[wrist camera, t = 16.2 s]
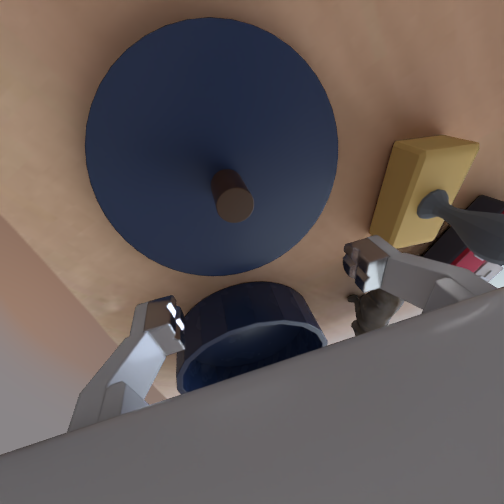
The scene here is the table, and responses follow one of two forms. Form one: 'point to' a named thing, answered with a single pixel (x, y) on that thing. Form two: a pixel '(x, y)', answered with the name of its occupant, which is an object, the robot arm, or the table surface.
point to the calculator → (458, 253)
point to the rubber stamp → (433, 197)
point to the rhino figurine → (374, 310)
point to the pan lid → (211, 146)
